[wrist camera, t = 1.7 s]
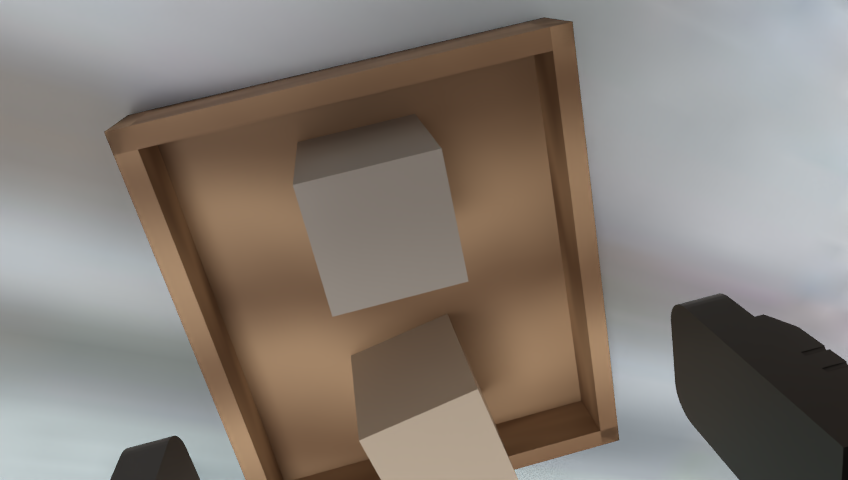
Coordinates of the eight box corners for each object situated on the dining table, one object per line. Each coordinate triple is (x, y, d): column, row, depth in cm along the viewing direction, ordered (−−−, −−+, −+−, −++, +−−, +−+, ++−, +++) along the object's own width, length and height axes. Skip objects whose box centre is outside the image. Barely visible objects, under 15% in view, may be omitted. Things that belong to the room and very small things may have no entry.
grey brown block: (297, 142, 22) (292, 185, 17) (415, 113, 22) (441, 148, 17) (328, 250, 23) (332, 317, 18) (438, 222, 23) (468, 281, 19)
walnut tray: (128, 115, 21) (104, 131, 19) (544, 17, 22) (572, 21, 19) (273, 489, 27) (269, 538, 25) (593, 401, 28) (619, 440, 26)
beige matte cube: (350, 355, 25) (358, 440, 20) (447, 313, 25) (477, 388, 20) (391, 432, 26) (407, 527, 22) (482, 393, 26) (518, 479, 22)
